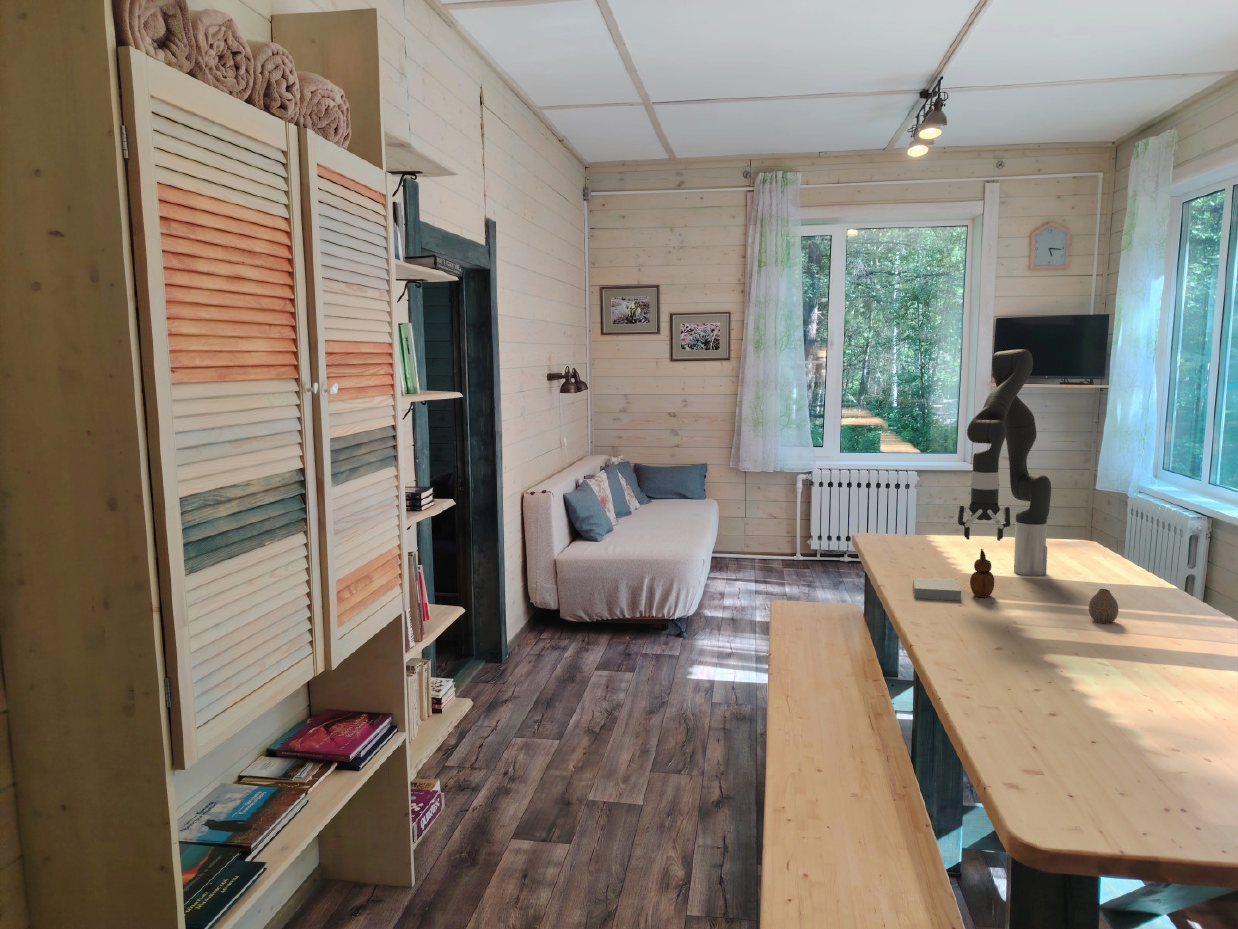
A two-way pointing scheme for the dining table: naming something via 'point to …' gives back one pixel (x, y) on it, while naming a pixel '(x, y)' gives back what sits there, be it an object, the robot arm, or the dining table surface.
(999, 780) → the dining table surface
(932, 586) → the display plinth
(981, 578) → the wooden figurine
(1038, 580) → the dining table surface
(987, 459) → the robot arm
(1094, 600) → the vase
